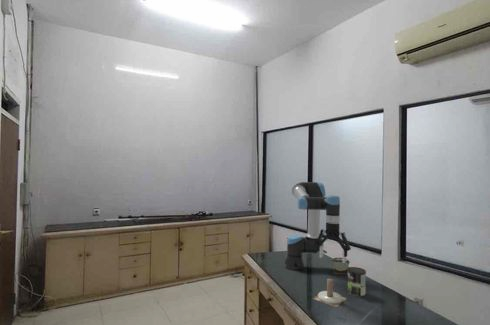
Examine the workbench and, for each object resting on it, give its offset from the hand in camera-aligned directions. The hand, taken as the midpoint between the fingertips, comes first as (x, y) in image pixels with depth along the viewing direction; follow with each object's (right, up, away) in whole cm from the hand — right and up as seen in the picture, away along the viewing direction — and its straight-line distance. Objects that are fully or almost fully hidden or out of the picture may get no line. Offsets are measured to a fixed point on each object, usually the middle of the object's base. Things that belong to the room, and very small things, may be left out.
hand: (332, 259), depth 162 cm
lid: (-2, -22, -1) cm, 22 cm away
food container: (+18, -24, +42) cm, 52 cm away
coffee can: (+17, -23, +7) cm, 29 cm away
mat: (-2, -22, -2) cm, 22 cm away
